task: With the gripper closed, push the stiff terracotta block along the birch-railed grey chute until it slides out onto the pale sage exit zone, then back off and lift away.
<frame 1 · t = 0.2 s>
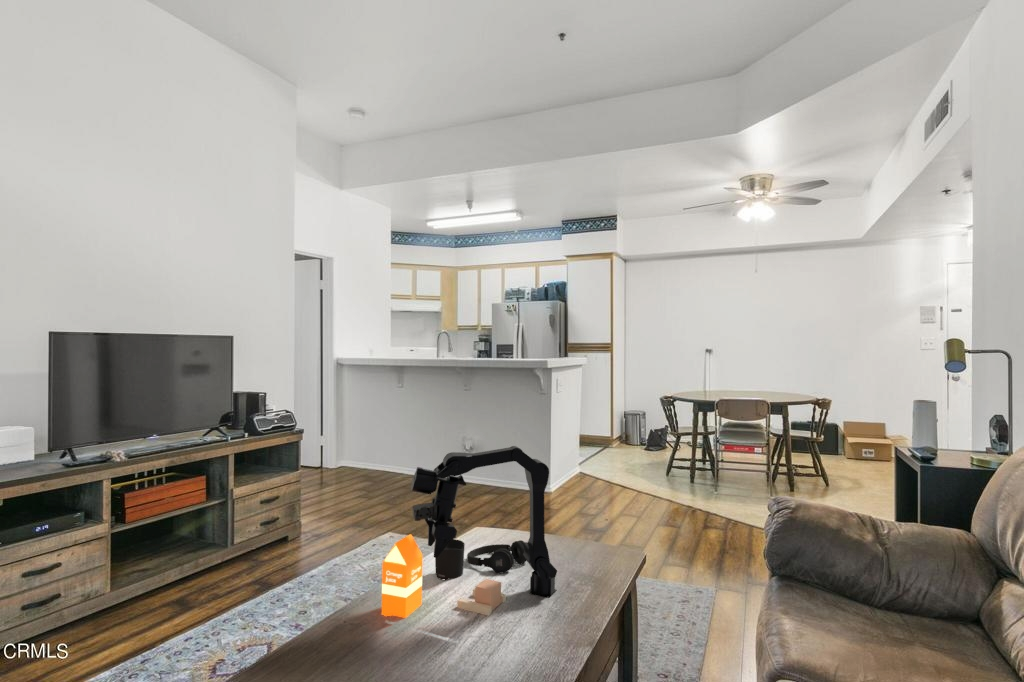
hand: (432, 551, 161), 15 cm above the table, fingers open, 9 cm apart
jammed block: (488, 594, 159), point 4 cm above the table, slide at 0.0 cm
headphones: (495, 563, 193), on the table
chute: (469, 603, 162), on the table
pen holder: (449, 576, 181), on the table
orange juice: (402, 611, 156), on the table
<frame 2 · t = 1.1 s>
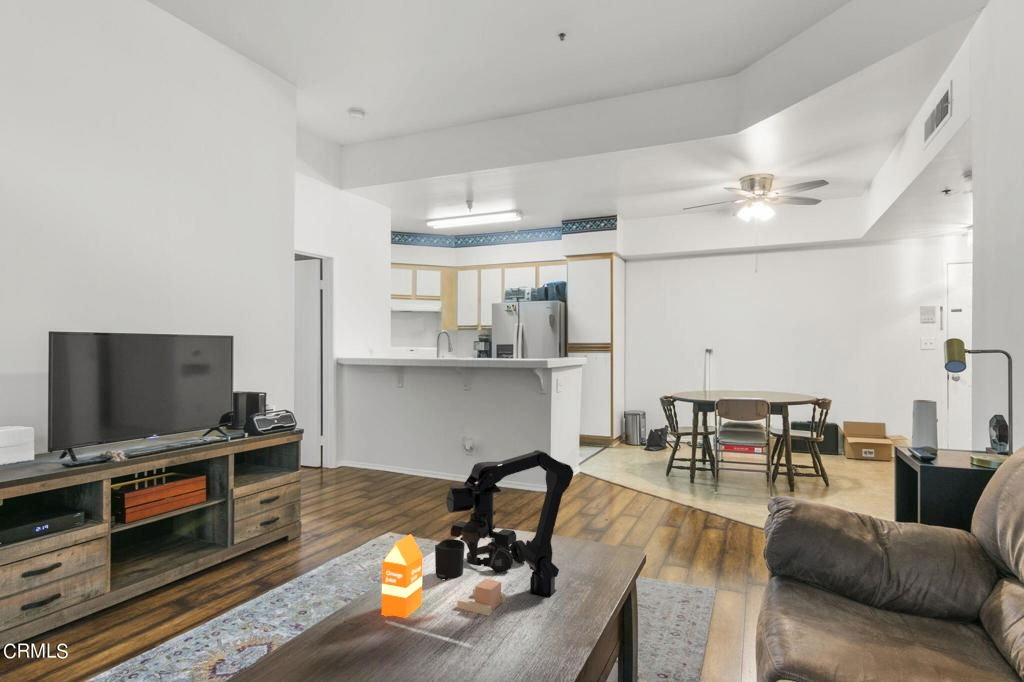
hand: (482, 563, 160), 12 cm above the table, fingers open, 5 cm apart
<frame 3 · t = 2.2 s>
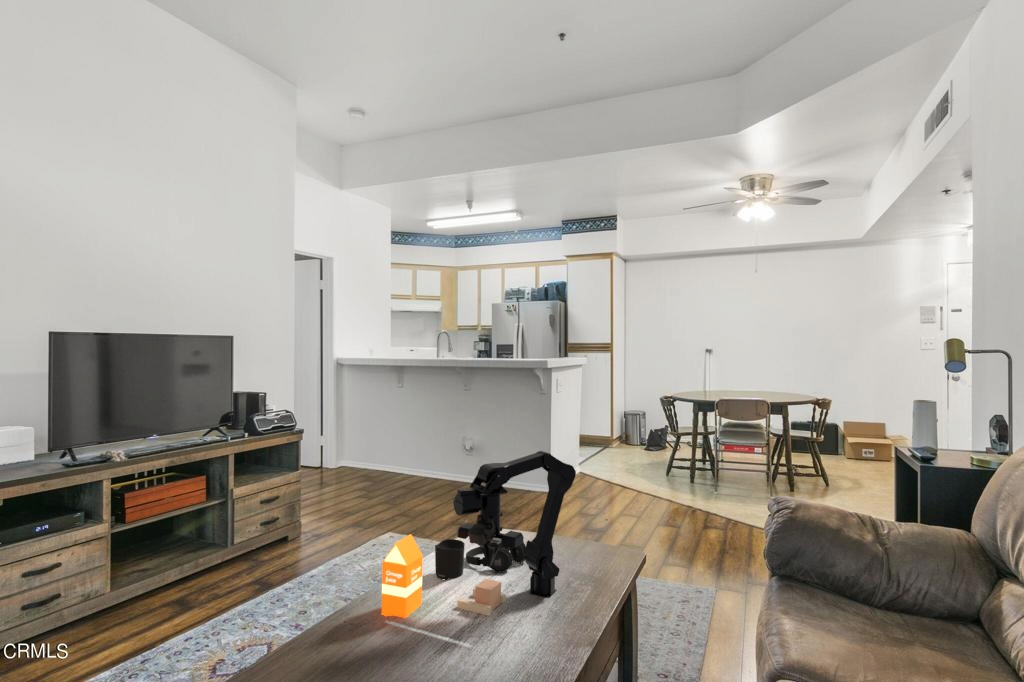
hand: (489, 565, 159), 12 cm above the table, fingers closed
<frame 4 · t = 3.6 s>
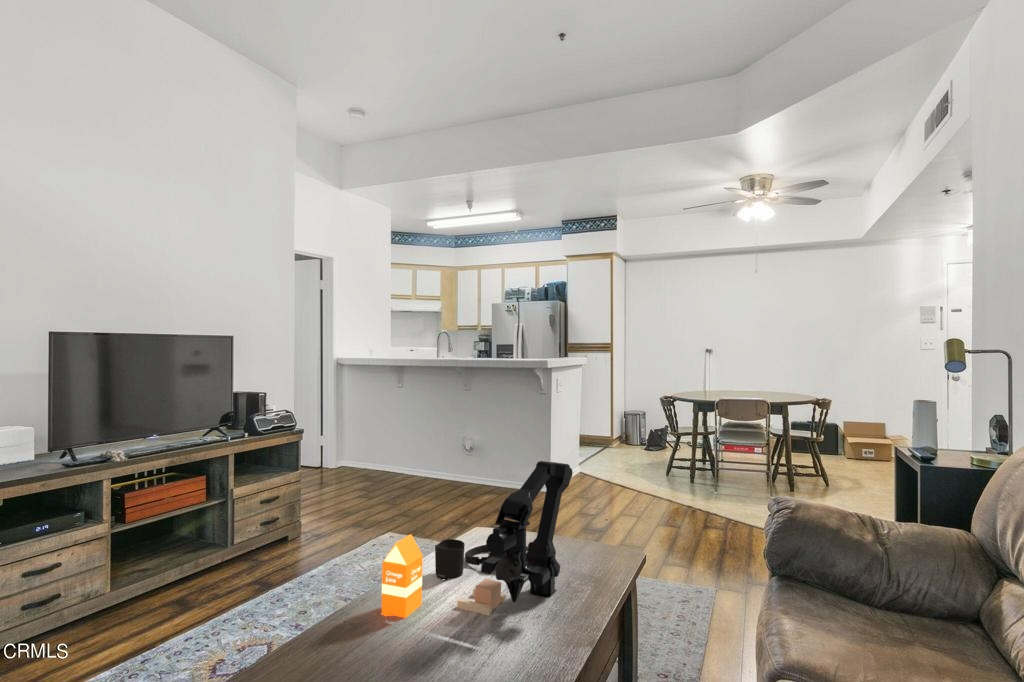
hand: (514, 601, 155), 4 cm above the table, fingers closed
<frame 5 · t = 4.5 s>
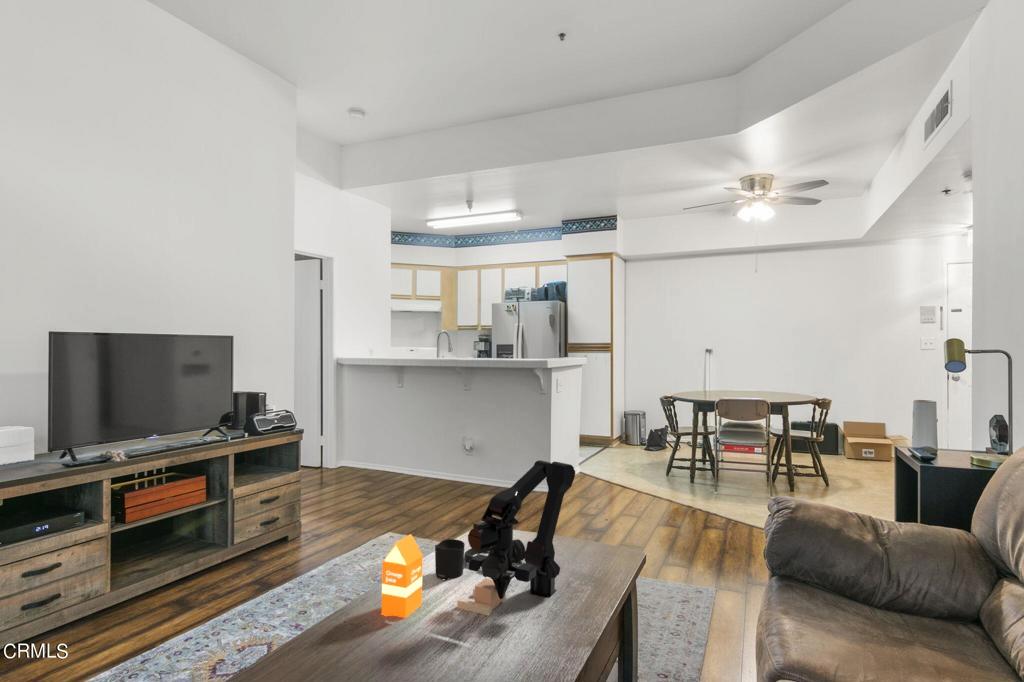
hand: (501, 598, 157), 4 cm above the table, fingers closed
jammed block: (487, 594, 159), point 4 cm above the table, slide at 0.1 cm, touching gripper
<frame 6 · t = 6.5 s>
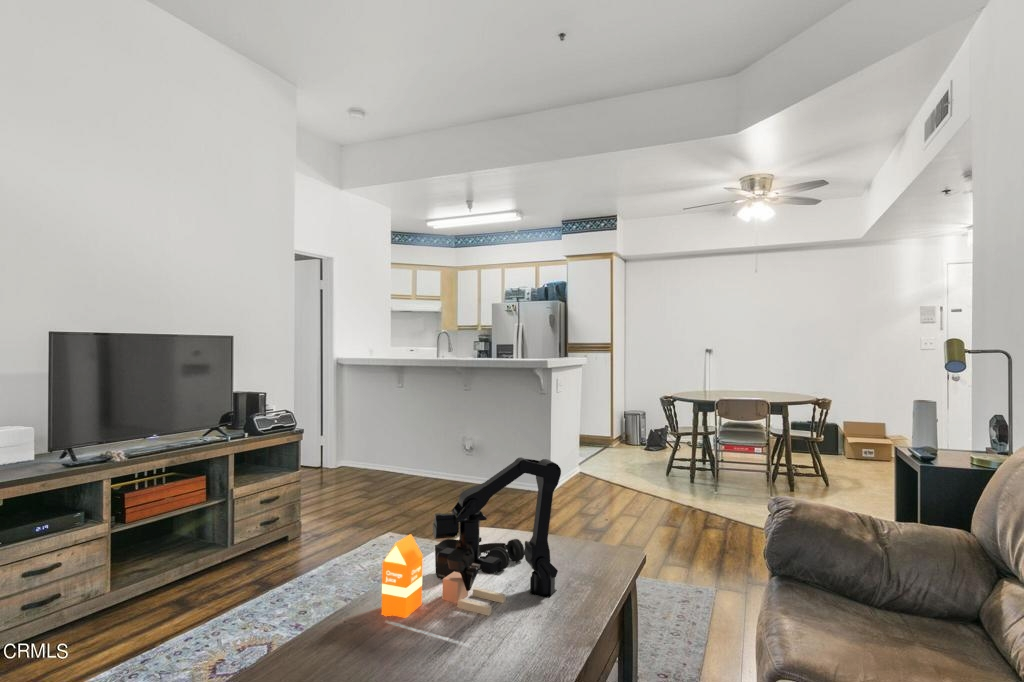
hand: (468, 590, 162), 4 cm above the table, fingers closed
jammed block: (455, 587, 164), point 4 cm above the table, slide at 10.8 cm, touching gripper
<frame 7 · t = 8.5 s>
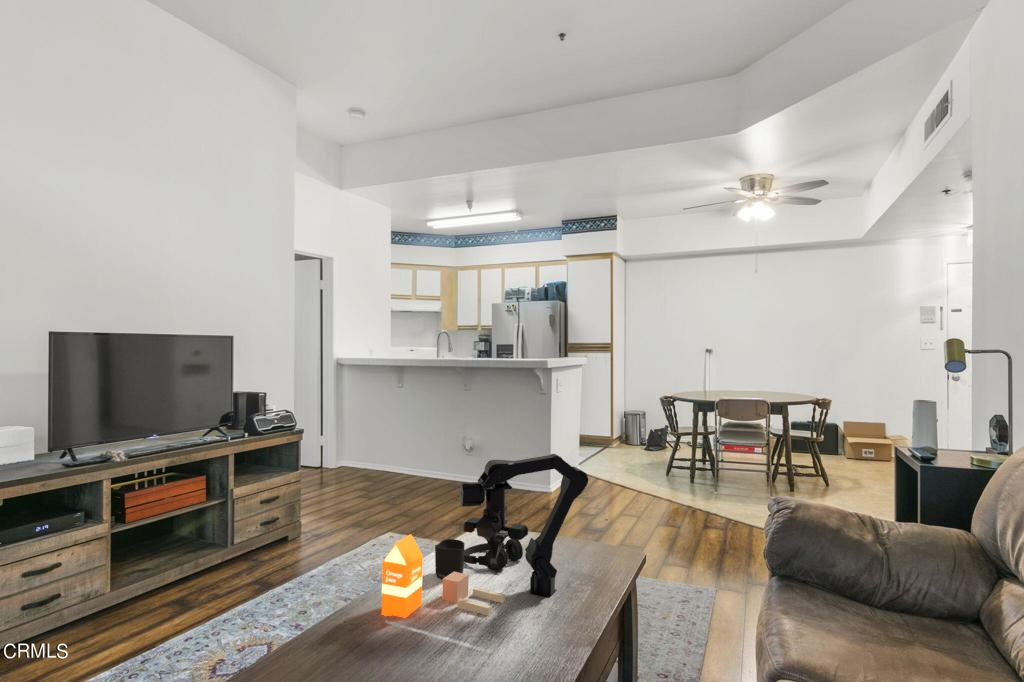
hand: (495, 557, 165), 12 cm above the table, fingers closed
jammed block: (455, 587, 164), point 4 cm above the table, slide at 10.8 cm
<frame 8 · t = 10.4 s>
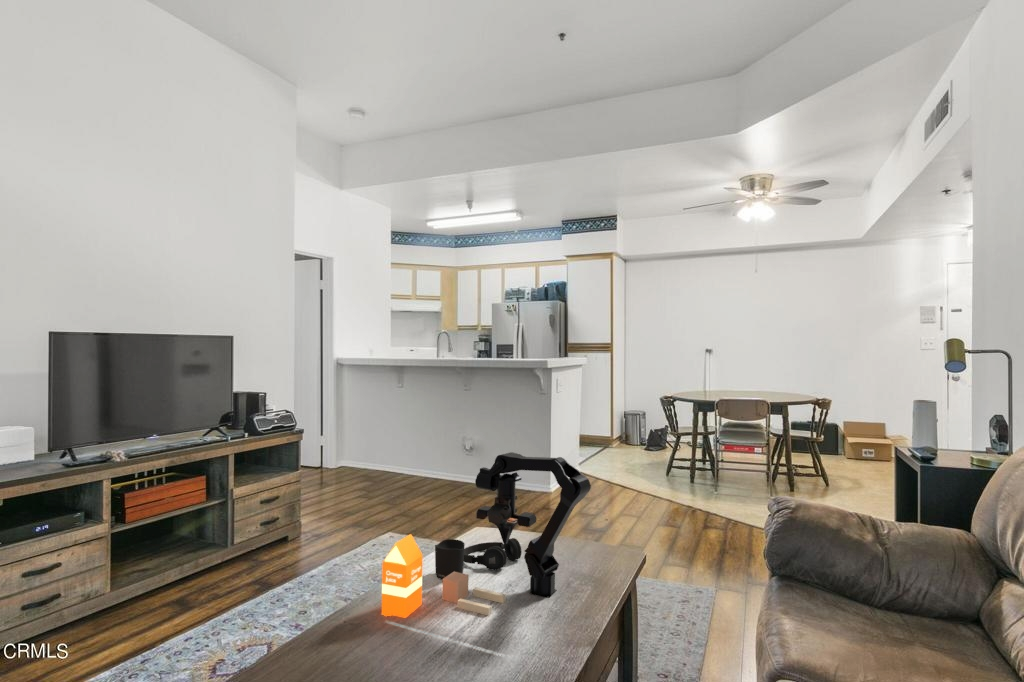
hand: (505, 543, 177), 12 cm above the table, fingers closed
at the end: jammed block slide at 10.8 cm; jammed block 0.1 cm from the target spot, point 3.6 cm above the table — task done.
